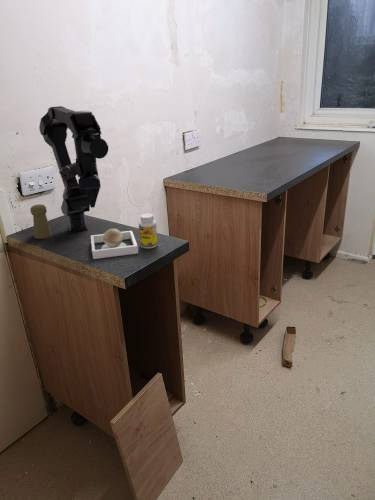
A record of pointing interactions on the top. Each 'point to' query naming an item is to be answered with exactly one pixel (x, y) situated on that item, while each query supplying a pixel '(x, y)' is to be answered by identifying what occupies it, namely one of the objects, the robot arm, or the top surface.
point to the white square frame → (114, 251)
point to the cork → (40, 222)
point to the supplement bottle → (148, 231)
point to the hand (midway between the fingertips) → (92, 203)
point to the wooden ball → (112, 237)
